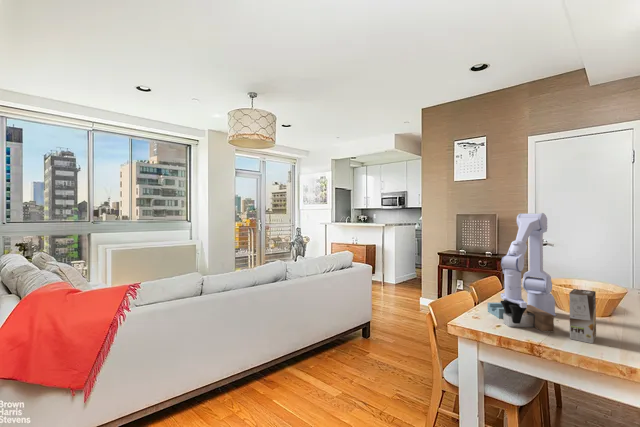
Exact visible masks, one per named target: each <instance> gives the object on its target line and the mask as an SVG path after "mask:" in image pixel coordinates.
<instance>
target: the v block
mask: <svg viewBox="0 0 640 427" xmlns="http://www.w3.org/2000/svg"><path fill="white" fill-rule="evenodd" d="M487 312H488V313H489V314H491V315H493V316H494V317H496V318H497V319H499V320H500V319H501V320H502V319H503V313H505V310H504V307H503V305H502V304H501V301H500V302H487Z"/></svg>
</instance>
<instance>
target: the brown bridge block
mask: <svg viewBox="0 0 640 427" xmlns="http://www.w3.org/2000/svg"><path fill="white" fill-rule="evenodd" d="M524 313H533V314H535V327H534V328H535V329H537V330H539V331H541V332H543V331H550V332H551V331H554V332H555V327H554V326H555V322H554V318H555V317H554V315H552V314H550V313H547V312H545V311H543V310H541V309H538V308H536V307H534V306H532V305H528V304H527V308H526V310H525V311H524Z"/></svg>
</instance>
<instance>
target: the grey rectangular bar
mask: <svg viewBox="0 0 640 427" xmlns="http://www.w3.org/2000/svg"><path fill="white" fill-rule="evenodd" d="M503 324H504V325H506V326H507V327H510V328H515V327H517V328H526V327H527V328H528V327H529V328H535V314H533V313H523V315H522V318H521V321H520V324H515V323H514V322H513V317H512V313H503Z"/></svg>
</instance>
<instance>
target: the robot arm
mask: <svg viewBox="0 0 640 427" xmlns="http://www.w3.org/2000/svg"><path fill="white" fill-rule="evenodd" d="M516 225H517V228H518V230H517V232H516V233H517V234H516V237H515V240H513V241H512V242H511V243H510V246H509V248H508V250H507V253H506V254H505V255H504V256H502V258H501V263H500V266H501V269H502V274H504V275H503V276H504V281H503V282H504V292H502V293H501V292H500V299H502V300H500V302H501V304H502V305H503V307H504V310H505V313H512V317H513V322H514V323H515V324H520V321H521V318H522V315H523V313H524V311H525V310H526V308H527V305H532V306H534V307H536V308H538V309H541V310H543V311H545V312H547V313H550V314H552V315H554V316H557V314H556V304H555V303H556V302H555V297H554V294H552V290H553V282H552V277H551V275H550V274H549V273H547V272H546V271H544V246H543V245H544V244H543V243H544V241H543V240H544V233H546V232H548V218H547V215H546V214H545V213H544V212H541V213H540V212H539V213H537V212H536V213H518V215H516ZM528 239H529V243H528V244H529V270H528V271H526V272H524V273H523V277H522V272H523V270H524V268H525V256H526V252H527V249H528V245H527V241H528ZM522 288H523V290H524V291H525V292H526V293H527V295H526V296H527V300H526V301H525V300H524V299H523V297H522Z"/></svg>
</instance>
